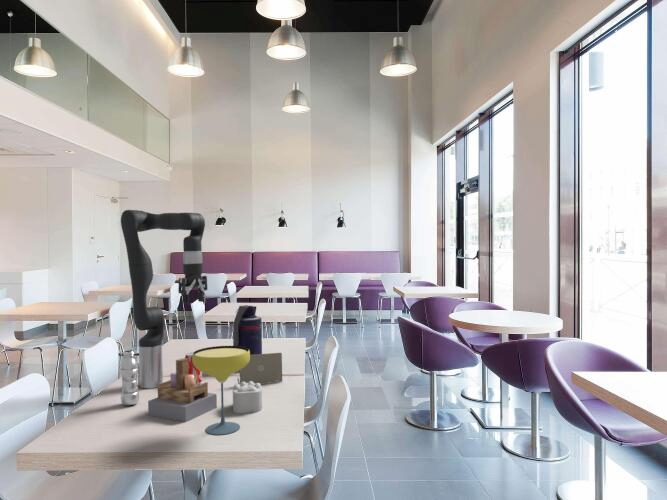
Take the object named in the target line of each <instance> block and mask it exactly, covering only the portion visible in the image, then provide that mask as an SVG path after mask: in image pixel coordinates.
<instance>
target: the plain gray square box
mask: <svg viewBox="0 0 667 500" xmlns="http://www.w3.org/2000/svg"><path fill="white" fill-rule="evenodd" d="M147 403H148V405H147V409H148V416H152V417H156V418H162V419H168V420H173V421H179V422H185V423H187V422H188V421H191V420H193V419H195V418H197V417H200V416H202V415H204V414H206V413H209V412H211V411H213V410H215V409H217V407H218V405H217V403H218V401H217V393H214V392H212V393H211V392H208V396H207V397H198V396H194V402H193V403H185V402H178V401H172V400H166V399H159V398H158V396H157V397H155V398H152V399H150V400H148V401H147Z"/></svg>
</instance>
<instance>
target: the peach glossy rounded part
mask: <svg viewBox="0 0 667 500" xmlns="http://www.w3.org/2000/svg"><path fill="white" fill-rule="evenodd" d="M184 378H185V390H188V389H190V388H192V387H195V377H194V375H185V376H184Z"/></svg>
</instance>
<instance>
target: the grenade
mask: <svg viewBox="0 0 667 500" xmlns="http://www.w3.org/2000/svg"><path fill="white" fill-rule="evenodd" d="M256 313H257V306H255V305H247V304H246V305H239V306H238V308H237V309H236V311H235V318H234V320H233V323H232V325H233V326H232V328H233V329H232V331H233V334H232V337H233V339H232V344H233V345H232V346H241V347H246V348H248V349H249V351H250V355H255V354H263V345H262V344H263V341H262V340H263V339H262V338H263V336H262V335H263V334H262V331H263V330H262V317H259V316H257V315H256Z"/></svg>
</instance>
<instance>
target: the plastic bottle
mask: <svg viewBox="0 0 667 500" xmlns="http://www.w3.org/2000/svg"><path fill="white" fill-rule="evenodd" d="M134 356H135V351H134V350H132V349H129V350H125V351H123V359H122V361H121V362H120V365H119V367H120V374H121V394H120V402H121V404H122V405H123V406H133V405H136V404H138V403H139V401H140V393H139V392H140V391H139V386H138V363H139V362H138V361H137V359H136V358H135V357H134Z"/></svg>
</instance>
